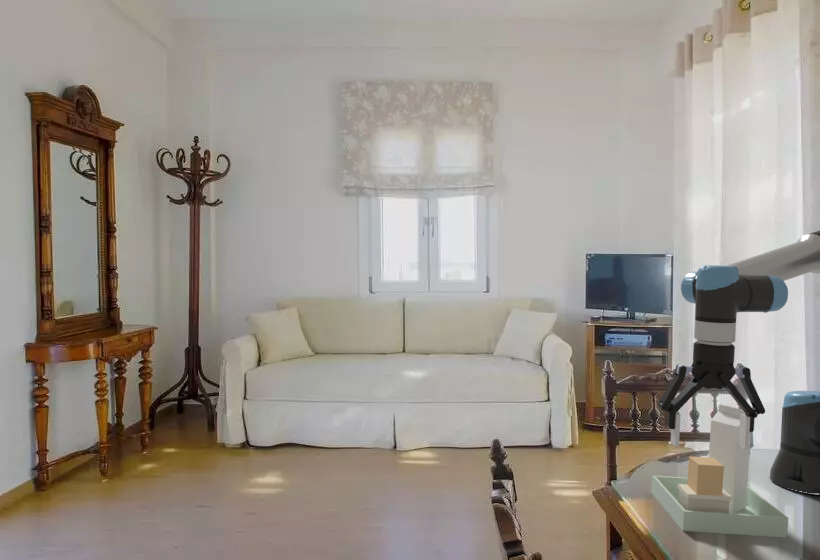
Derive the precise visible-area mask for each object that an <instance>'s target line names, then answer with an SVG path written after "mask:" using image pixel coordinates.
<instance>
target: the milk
mask: <svg viewBox="0 0 820 560" xmlns="http://www.w3.org/2000/svg"><path fill="white" fill-rule="evenodd" d="M740 414H745V412H744V411H743V410H742V408H737V407H733V406H728V405H724V404H718V411H716V413H715V414H714V416H713V417H712V418H711V419H710V430H709V432H710V433H709V445H708V447H709V449H708V458H715V459H716V460H717V461H718V462H720V463H721V464H722V465H723V466H724V474H723V489H724V490H725V491H726V492H727V493H728V494H729V495H731V496H732V501H729V513H736V512H739V511H741V510H743V509H746V499H747V485H749V484H748V481H749V467H750V457H751V456H750V454H751V453H750V452H751V441H752V440H751V439H752V432H749V449H744V448H742V447H741V446H739V428H740Z"/></svg>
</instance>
